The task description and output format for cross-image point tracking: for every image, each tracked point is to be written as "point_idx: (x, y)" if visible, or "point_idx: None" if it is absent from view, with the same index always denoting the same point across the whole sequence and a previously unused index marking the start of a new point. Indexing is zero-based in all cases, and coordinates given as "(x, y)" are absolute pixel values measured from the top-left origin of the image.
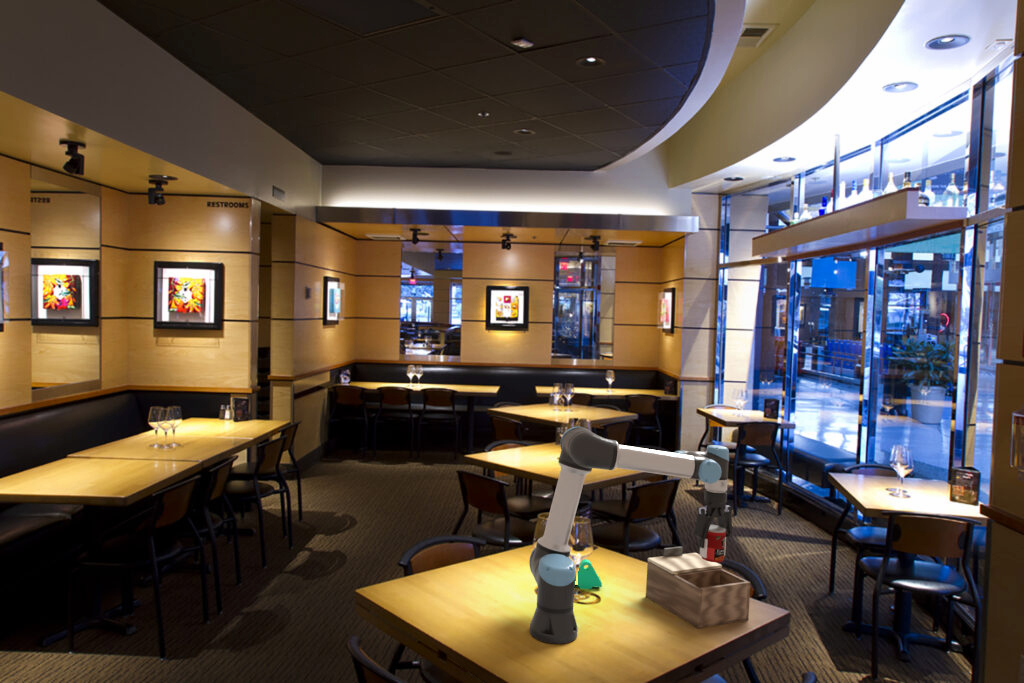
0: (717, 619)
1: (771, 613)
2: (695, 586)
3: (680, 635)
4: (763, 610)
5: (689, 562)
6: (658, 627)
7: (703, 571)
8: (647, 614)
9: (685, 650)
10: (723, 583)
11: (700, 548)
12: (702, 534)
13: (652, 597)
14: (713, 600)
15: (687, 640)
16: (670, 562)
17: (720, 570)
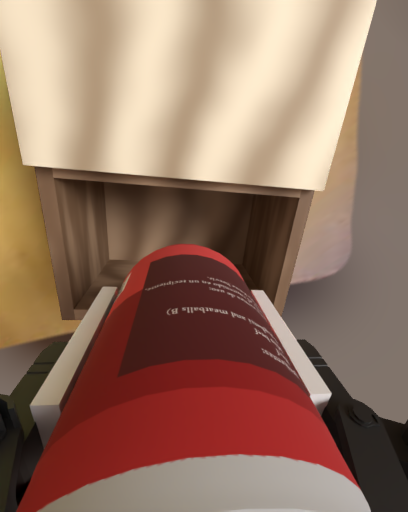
0: None
1: (320, 263)
2: (64, 295)
3: (42, 274)
4: (320, 246)
5: (209, 87)
6: (6, 226)
7: (214, 184)
8: (12, 149)
9: (15, 323)
10: (275, 207)
11: (85, 320)
12: (56, 423)
13: None
14: None
15: (44, 295)
16: (92, 29)
17: (297, 196)
